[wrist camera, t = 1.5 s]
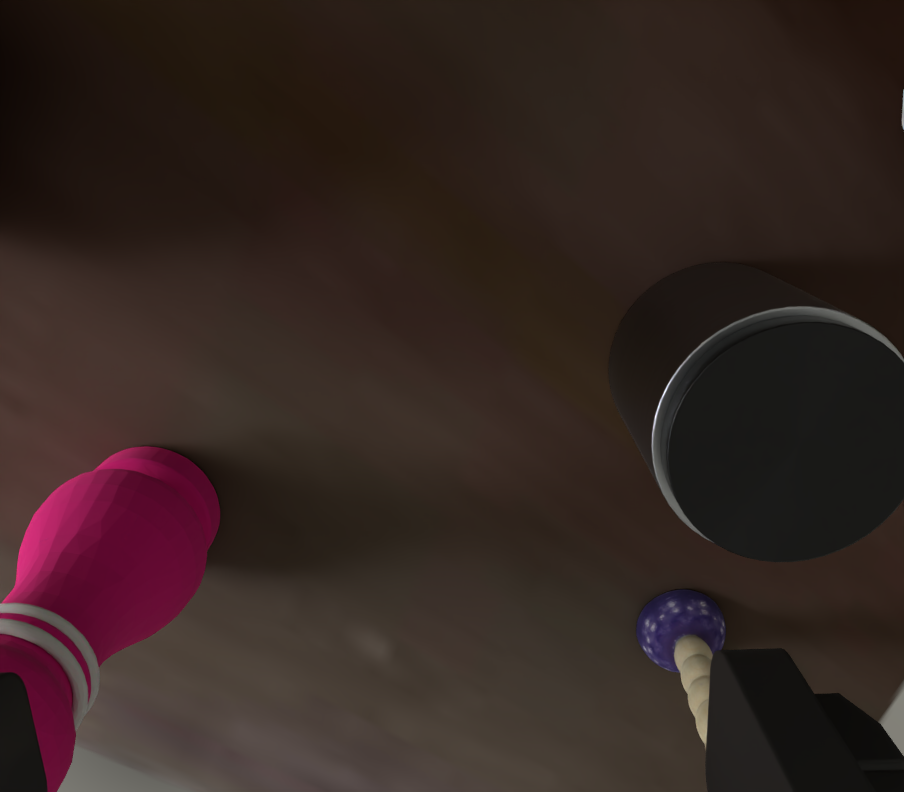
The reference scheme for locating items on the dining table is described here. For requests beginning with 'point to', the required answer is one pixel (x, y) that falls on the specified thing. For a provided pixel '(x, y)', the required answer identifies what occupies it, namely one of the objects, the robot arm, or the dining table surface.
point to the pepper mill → (101, 582)
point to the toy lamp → (684, 642)
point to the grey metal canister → (762, 411)
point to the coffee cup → (903, 112)
